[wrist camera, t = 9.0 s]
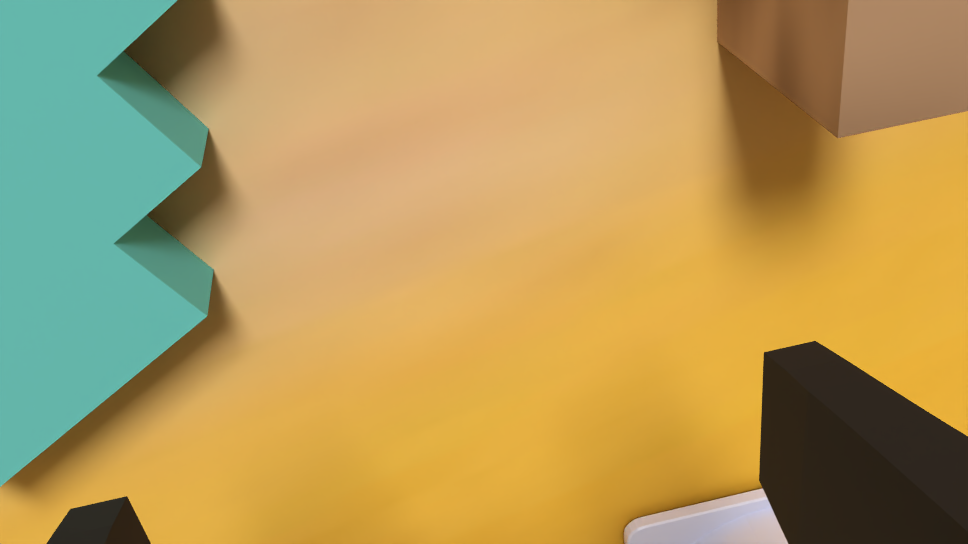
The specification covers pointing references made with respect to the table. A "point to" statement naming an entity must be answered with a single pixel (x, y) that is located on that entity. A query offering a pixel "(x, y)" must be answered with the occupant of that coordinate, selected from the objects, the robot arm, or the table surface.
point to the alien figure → (85, 215)
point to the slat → (855, 57)
